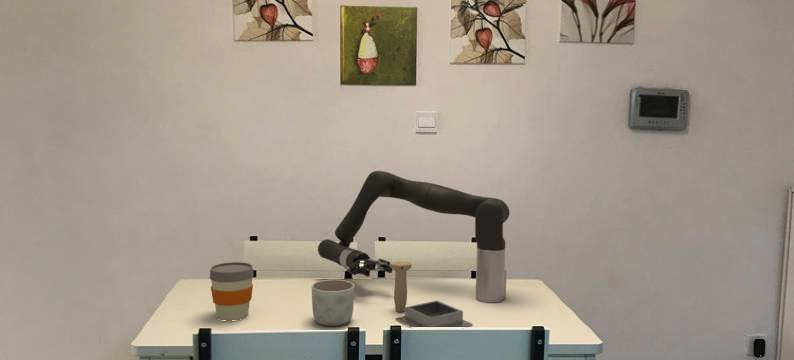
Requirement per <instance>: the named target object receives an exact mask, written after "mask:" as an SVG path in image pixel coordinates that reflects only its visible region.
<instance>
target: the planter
mask: <svg viewBox="0 0 794 360" xmlns="http://www.w3.org/2000/svg"><path fill="white" fill-rule="evenodd" d="M354 303H355V284H354V283H353V282H351V281H349V280H344V279H323V280H319V281H316V282H314V283H312V285H311V305H312V307H311V308H312V314H313V318H314V320H315V322H316V323H318V324H320V325H322V326H326V327H327V326H328V327H338V326H342V325H346V324H348V322H350V321H351V320H352V317H353V313H354Z"/></svg>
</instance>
